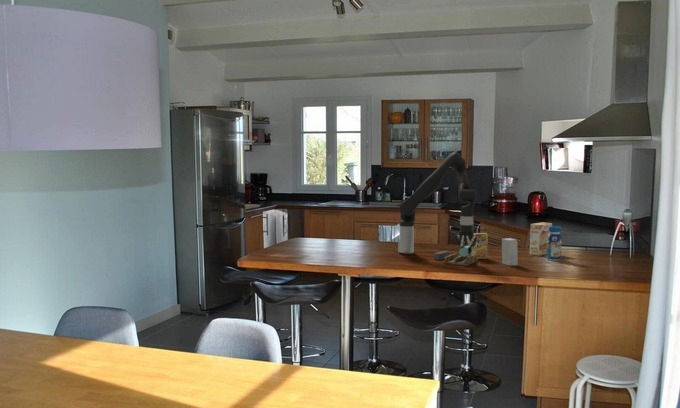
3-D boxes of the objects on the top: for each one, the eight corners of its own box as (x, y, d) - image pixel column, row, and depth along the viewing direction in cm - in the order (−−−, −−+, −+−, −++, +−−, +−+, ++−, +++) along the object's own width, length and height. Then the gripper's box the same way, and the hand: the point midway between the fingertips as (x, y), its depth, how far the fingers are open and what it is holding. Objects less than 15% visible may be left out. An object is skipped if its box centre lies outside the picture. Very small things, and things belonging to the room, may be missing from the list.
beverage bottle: (550, 257, 362) (551, 225, 360) (563, 259, 356) (564, 226, 354) (543, 259, 356) (544, 226, 354) (557, 261, 350) (558, 228, 348)
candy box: (474, 259, 356) (475, 234, 354) (470, 258, 360) (471, 233, 358) (487, 258, 358) (488, 233, 357) (483, 257, 362) (484, 232, 361)
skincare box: (517, 265, 337) (518, 239, 336) (508, 265, 336) (508, 240, 334) (510, 262, 345) (511, 237, 344) (500, 263, 344) (501, 237, 342)
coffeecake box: (539, 255, 369) (540, 224, 367) (528, 254, 374) (529, 223, 373) (551, 253, 379) (552, 223, 377) (541, 251, 384) (542, 222, 383)
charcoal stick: (438, 260, 353) (438, 253, 352) (433, 259, 355) (433, 253, 355) (449, 257, 361) (449, 251, 361) (444, 257, 364) (444, 250, 363)
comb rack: (466, 265, 335) (466, 259, 335) (443, 263, 343) (443, 257, 342) (477, 260, 350) (477, 255, 350) (455, 258, 358) (455, 252, 358)
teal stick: (466, 252, 351) (466, 245, 350) (472, 252, 349) (472, 246, 348) (459, 255, 341) (459, 249, 340) (465, 256, 339) (465, 249, 338)
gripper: (452, 223, 344) (452, 253, 345) (476, 225, 336) (475, 255, 338) (457, 222, 350) (456, 251, 352) (480, 224, 343) (479, 253, 344)
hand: (466, 253), depth 345 cm, fingers closed on teal stick, 3 cm apart
